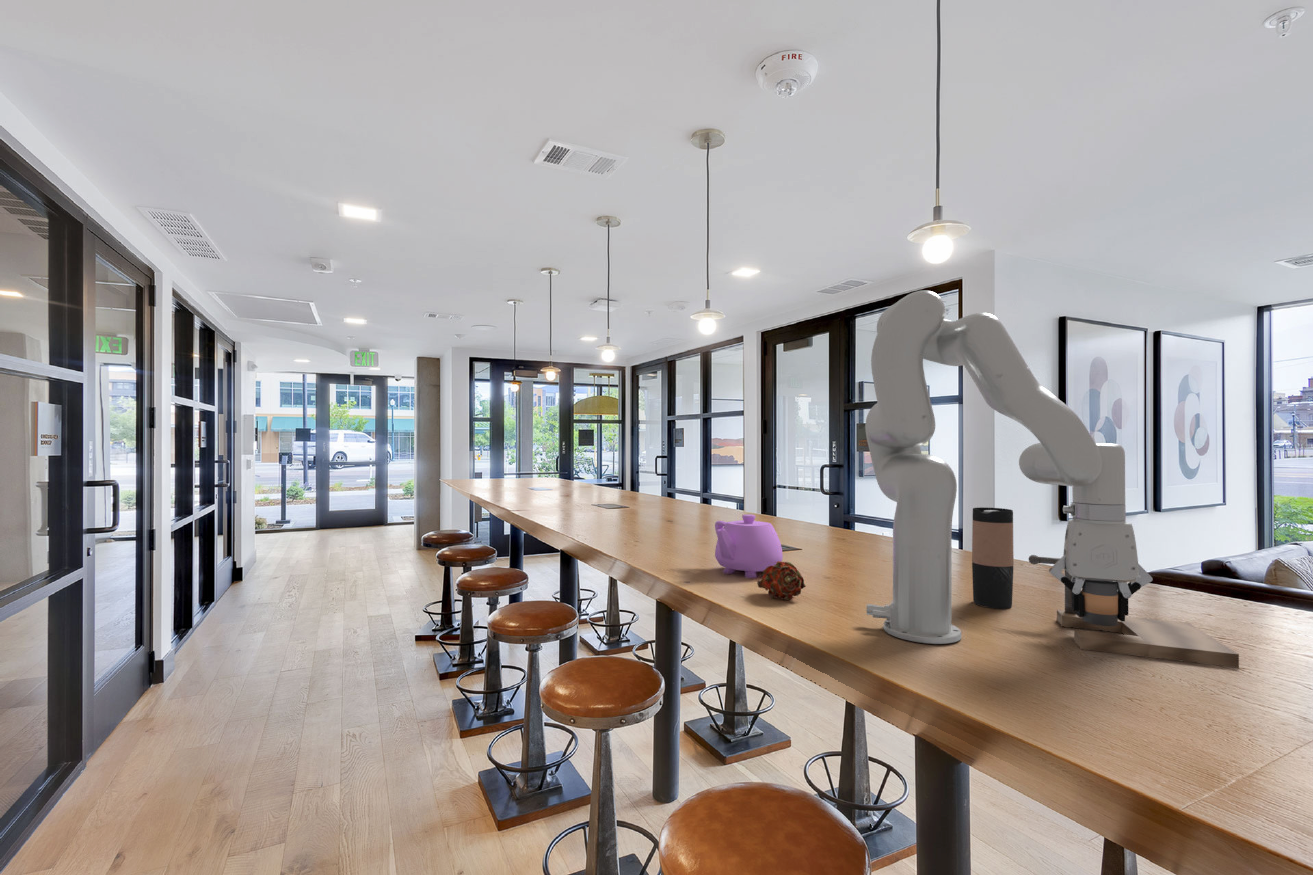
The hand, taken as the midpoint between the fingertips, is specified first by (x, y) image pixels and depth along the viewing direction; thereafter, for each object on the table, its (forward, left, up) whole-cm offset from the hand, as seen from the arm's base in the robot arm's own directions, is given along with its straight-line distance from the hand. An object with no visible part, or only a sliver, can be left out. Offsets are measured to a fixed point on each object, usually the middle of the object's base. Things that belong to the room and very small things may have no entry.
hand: (1099, 616), depth 106 cm
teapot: (-72, +25, -4) cm, 76 cm away
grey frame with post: (+3, 0, -4) cm, 5 cm away
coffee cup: (0, 0, -1) cm, 1 cm away
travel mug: (-15, +17, -4) cm, 23 cm away
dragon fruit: (-57, +4, -4) cm, 57 cm away
